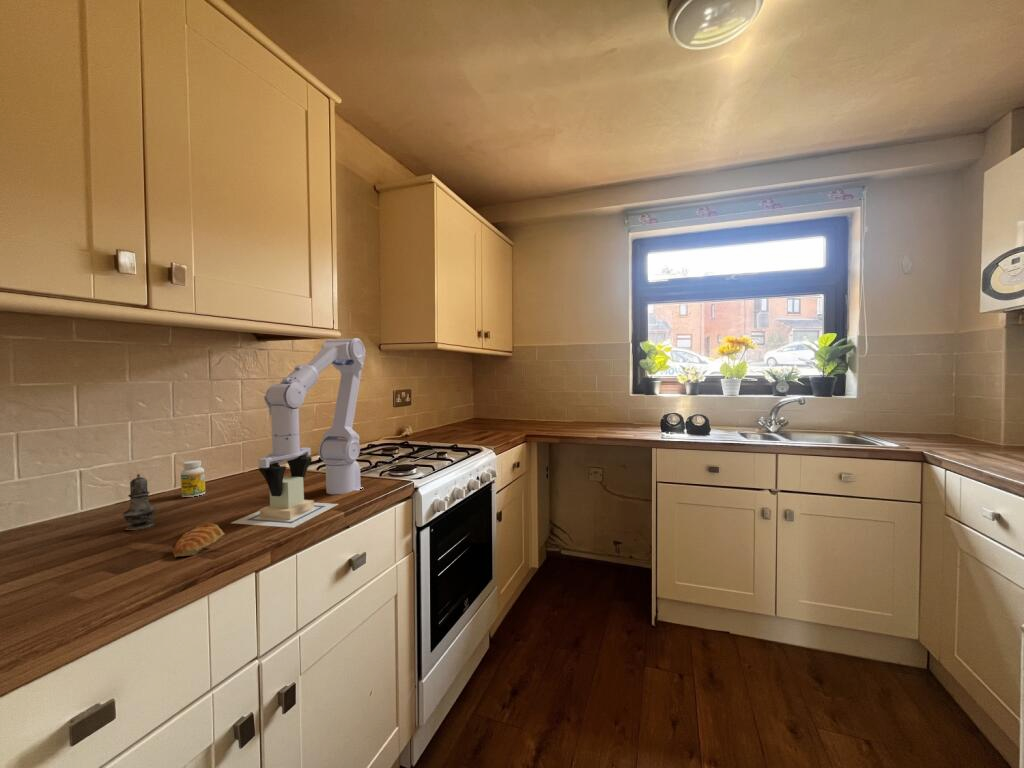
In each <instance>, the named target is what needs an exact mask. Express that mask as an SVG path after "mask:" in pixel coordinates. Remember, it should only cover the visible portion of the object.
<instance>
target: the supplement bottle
mask: <svg viewBox="0 0 1024 768" xmlns="http://www.w3.org/2000/svg"><path fill="white" fill-rule="evenodd" d="M182 463H183V464H182V467H183V468H184V469H183V470H181V471H180V488H181V489H180V490H181V493H180V494H181V497H182V498H183V497H193V498H195V497H194V496H198V497H200V496H199V495H202V496H204V495H205V494H206V478H205V476H206V474H205V469H204V468H203V467H202V460H189V461H185V462H182ZM203 494H204V495H203Z"/></svg>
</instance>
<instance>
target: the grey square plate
mask: <svg viewBox="0 0 1024 768" xmlns="http://www.w3.org/2000/svg"><path fill="white" fill-rule="evenodd" d="M338 505H339V503H329V502H328V503H325V502H314V509H312V510H310V511H308V512H306V513H304V514H301V515H299V516H297V517H295V518H293V519H291V520H285V519H271V518H260V510H258V511H256V512H254V513H251V514H249V515H246V516H244V517H241V518H239V519H237V520H234V521H231V522H230V524H237V525H239V524H240V525H250V526H265V527H275V528H276V527H277V528H278V527H279V528H290V529H291V528H293V529H294V528H295V527H298V526H299V525H301V524H303V523H305V522H307V521H309V520H312V519H313V518H316V517H317V516H319V515H321V514H322V513H324V512H326V511H328V510H330V509H332V508H334V507H336V506H338Z"/></svg>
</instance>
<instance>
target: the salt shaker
mask: <svg viewBox="0 0 1024 768" xmlns="http://www.w3.org/2000/svg"><path fill="white" fill-rule="evenodd" d="M129 486H130V487H129V489H130V490H129V491H130V494H128V497H129V499H130V500H129V501H130V502H129V504H130V505H129V508H128V509H127V510H125V511H123V512H122V513H121V516H123V519H124V520H125V522H126V523H128V524H129V525H127V526H126V527H127V529H142V530H144V529H143V528H146V529H148V527H149V528H152V527H153V525H154V526H155V525H157V523H156V522H155V521H153V520H152V519H153V517H155V514H156V510H157V509H158V507H157V506H152V505H151V504H150V502H149V494H150V493H151V492H150V491H148V479H147V478H146V477H141V474H140V473H137V475H136V477H135V478H133V479H132V480H131V481H130V482H129ZM151 526H152V527H151Z"/></svg>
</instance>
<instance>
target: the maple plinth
mask: <svg viewBox="0 0 1024 768" xmlns="http://www.w3.org/2000/svg"><path fill="white" fill-rule="evenodd" d="M314 503H315V500H314V499H304V502H302V503H300V504H298V505H296V506H293V507H291V508H289V509H288V508H273V507H270V504H269V505H266V506H264V507H262V508H260V509H259V511H260V518H271V519H285V520H291V519H293V518H295V517H297V516H299V515H301V514H304V513H306V512H308V511H310V510H312V509H314Z"/></svg>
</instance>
